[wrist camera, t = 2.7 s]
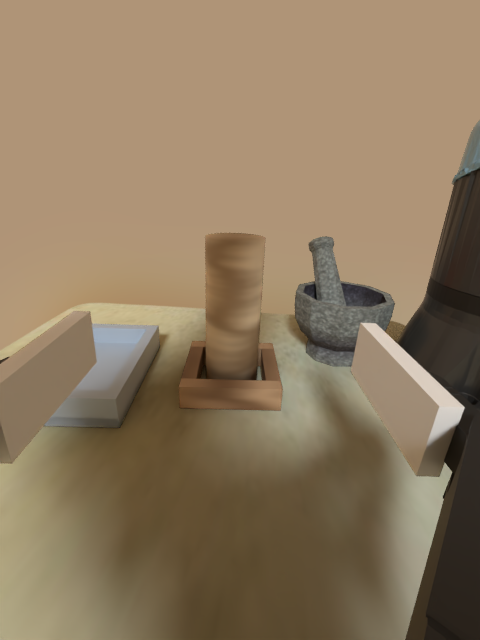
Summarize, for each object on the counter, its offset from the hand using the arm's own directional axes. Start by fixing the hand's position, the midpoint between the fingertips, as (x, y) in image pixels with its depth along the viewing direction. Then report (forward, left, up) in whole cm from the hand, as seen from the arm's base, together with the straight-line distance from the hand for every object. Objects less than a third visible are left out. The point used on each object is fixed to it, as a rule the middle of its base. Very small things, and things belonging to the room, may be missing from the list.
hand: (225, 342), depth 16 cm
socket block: (0, -11, -9) cm, 14 cm away
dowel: (0, -11, -9) cm, 14 cm away
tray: (+13, -11, -9) cm, 19 cm away
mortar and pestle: (-11, -18, -10) cm, 23 cm away
